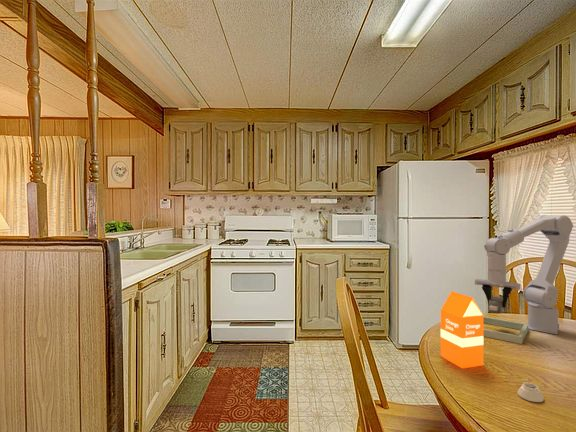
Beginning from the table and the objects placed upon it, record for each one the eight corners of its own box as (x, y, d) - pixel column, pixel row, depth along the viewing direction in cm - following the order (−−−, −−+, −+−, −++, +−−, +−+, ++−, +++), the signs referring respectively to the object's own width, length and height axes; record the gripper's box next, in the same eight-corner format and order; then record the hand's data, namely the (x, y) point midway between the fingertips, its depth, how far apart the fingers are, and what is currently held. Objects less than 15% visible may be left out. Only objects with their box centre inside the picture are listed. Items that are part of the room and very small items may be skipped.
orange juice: (462, 368, 95) (462, 298, 95) (440, 355, 104) (440, 291, 104) (484, 365, 97) (484, 296, 97) (460, 353, 106) (460, 290, 106)
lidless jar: (549, 403, 78) (532, 392, 83) (549, 391, 78) (532, 380, 83) (528, 404, 78) (513, 392, 83) (528, 391, 78) (513, 380, 83)
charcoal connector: (505, 307, 129) (505, 297, 129) (499, 315, 119) (499, 304, 119) (493, 305, 132) (493, 295, 132) (486, 313, 122) (486, 302, 122)
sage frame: (528, 330, 126) (528, 324, 126) (521, 344, 113) (521, 337, 113) (475, 320, 138) (475, 314, 138) (463, 332, 125) (463, 325, 125)
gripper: (472, 269, 128) (472, 304, 128) (518, 273, 118) (518, 312, 118) (477, 267, 133) (477, 301, 133) (521, 271, 124) (521, 307, 124)
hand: (496, 306), depth 126 cm, fingers closed on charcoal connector, 4 cm apart
